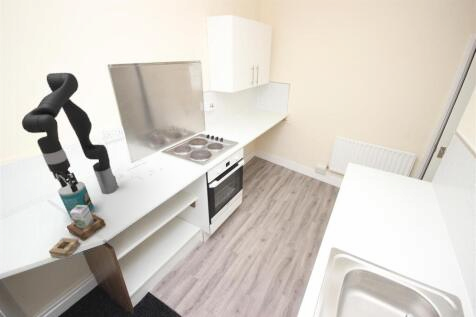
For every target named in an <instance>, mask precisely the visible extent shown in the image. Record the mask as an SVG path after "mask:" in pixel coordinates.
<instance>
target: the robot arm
mask: <svg viewBox="0 0 476 317" xmlns="http://www.w3.org/2000/svg"><path fill="white" fill-rule="evenodd" d="M46 82H47V85H48V87H49V88H50V90H51V92H50V93H49V94H47V95H45V96H44V97H43V98H42V99H41V101H40V102H39V104H38V106H37V107H35V108H34V109H32V110H31V111H29V112H28V113H26V114H25V115H24V117H23V118H22V120H21V126H22V129H24V131H26V132H27V133H31V134H41V133H46V135H45V136H42V137H40V138H38V139H37V145H38V147H39V149H40V151H41V153H42V157H43V159H44V162H45V164H46V166H47V167H48V169H49V172H51V173H52V175H53V177H54V179H55V180H56V181H58V182H59V184H60V186H61V187H66V186H67V184H69V186H70V188H71V190H72V192H76V191H78V188H77V186H76V184H78V182H79V181H78V179H77V178H76V175H75V174H74V172H71V171H70V170H69V168H71V163H70V161H69V159H68V156H67V154H66V152H65V150H64V149H63V147H62V144H61V142H60V137H59V126H58V121H57V119H56V118H57V117H58V115H59V113H60V112H61V110H63V112H64V114H65V116H66V118H67V119H68V122H69V124H70V126H71V128H72V130H73V132H74V133H75V135H76V137H77V139H78V142H79V145H80V146H81V150H82V152H83V154H84V156H85V158H86V159H88V160H98V161H97V162H95V163H94V164H93V165H92V169H93V171H94V175H95V177H96V179H97V182H98V186H99V188H100V192H101V193H102V194H105V195H106V194H107V195H108V194H112V193H115V192H116V191H117V189H118V188H119V185H118V181H117V178H116V175H114V174H113V171H112V167H111V163H110V157H109V153H108V149H107V147H106V146H105V145H104V144H93V143H92V141H91V138H90V135H91V131H92V129H93V128H92V122H91V120H90V116H89V115H88V113H87V112H86V110H84V109H82V107H80V106H79V105H78V104H76V103H75V102H74V101H72V100H71V99H70V98H71V97H72V96H73V95H74V94H75V93H76V92H77V91H78V89H79V81H78V79H77V77H76V76H75V74H73V73H71V72H53V73H51V72H50V73H48V74H47V75H46ZM72 182H73V183H72Z"/></svg>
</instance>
